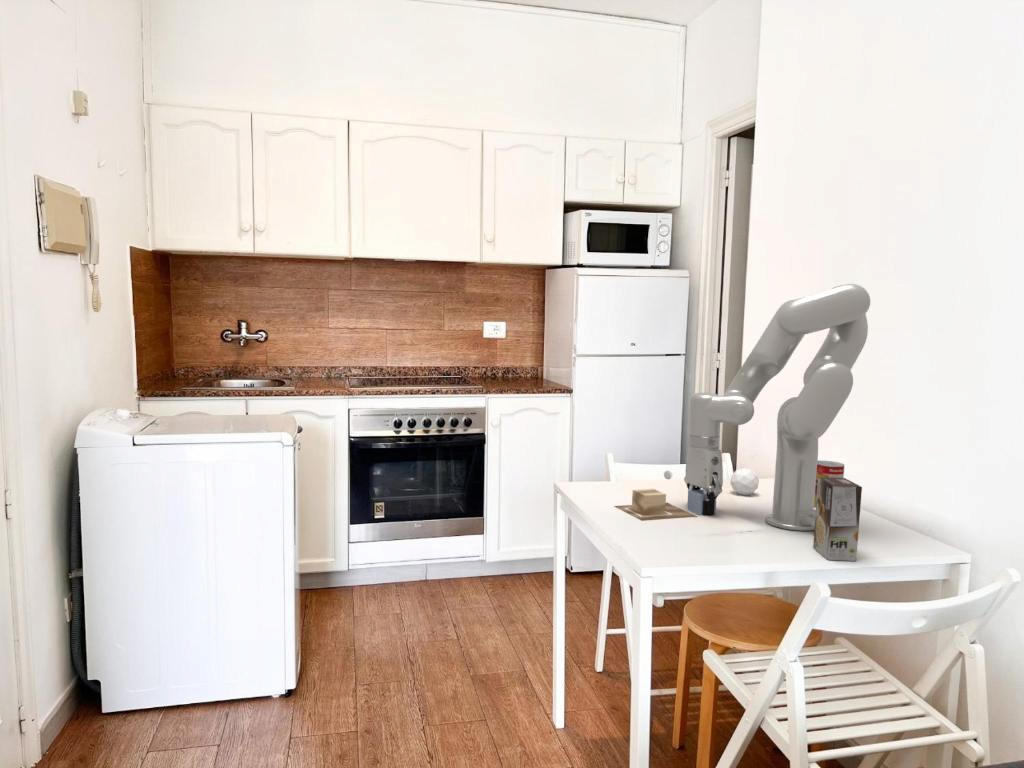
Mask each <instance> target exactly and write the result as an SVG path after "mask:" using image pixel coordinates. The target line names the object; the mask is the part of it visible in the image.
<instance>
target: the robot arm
mask: <svg viewBox="0 0 1024 768" xmlns="http://www.w3.org/2000/svg"><path fill="white" fill-rule="evenodd" d="M870 306H871V296H870V294H869V293H868V291H867V289H866V288H864V287H863V286H861V285H859V284H856V283H847V284H842V285H841V284H840V285H836V286H833V287H832V288H830V289H828V290H825V291H821V292H819V293H816V294H815V293H814V294H812V295H807V296H803V297H801V298H795V299H791V300H787V301H785V302H784V303H782V304H781V305H780V306H779V308H778V309H777V310H776V312H775V313H774V316H772V318H771V320H769V323H768V324H767V327H766V328H765V329H764V331H763V333H762V334H761V336H760V338H759V339H758V341H757V342H756V344H755V345H754V347H753V348H752V350H751V352H750V353H749V354H748V356H747V358H746V359H745V361H744V362H743V364H742V365H741V367H740V368H739V370H738V371H737V373H736V375H735V376H734V377H733V379H732V381H731V382H730V384H729V385H728V387H727V389H726V390H725V391H724V392H723V393H724V394H723V395H719V394H717V393H713V392H695V393H693V394H692V395H691V396H690V401H689V421H688V422H689V424H688V425H689V426H688V448H687V453H686V462H685V475H684V478H683V481H684V483H685V484H686V488H687V489H688V490H687V492H688V491H689V490H701V489H703V491H704V499H705V501H703V511H702V515H701V516H715V514H714V510H715V501H716V502H717V498H718V497H719V496H720V494H721V493H723V484H724V478H723V477H724V469H723V467H724V466H723V457H722V450H721V449H720V441H721V440H720V437H721V436H720V435H721V423H722V424H723V423H724V424H728V425H734V426H741V425H746V424H747V423H749V422H750V421H751V420H752V419H753V418H754V417H753V416H754V414H755V407H754V402H755V401H756V399H757V398H758V396H759V395H760V393H761V391H762V390H763V389H764V388H765V386H766V385H767V384H768V382H770V381H771V380H772V379H773V378H774V377H776V376H777V375H778V374H779V373H781V371H782V370H783V369H785V366H786V365H787V363H788V361H789V360H790V359H791V357H792V355H794V352H795V351H796V349H797V347H798V346H799V344H800V343H801V342H802V340H803V338H804V336H805V335H809V334H812V333H817V332H820V331H823V330H828V329H829V330H828V333H827V335H826V337H825V339H824V341H823V342H822V345H821V346H820V348H819V350H818V351H817V353H816V354H815V356H814V357H813V359H812V360H811V361H810V363H809V364H808V366H807V368H806V369H805V371H804V373H803V377H802V378H803V385H804V386H803V388H802V389H801V390H800V392H799V394H798V395H797V396H794V397H790V398H788V399H786V400H785V401H784V402H783V403H782V404H781V405H780V407H779V410H778V412H777V418H776V419H777V420H776V457H775V458H776V459H775V470H774V484H773V495H772V496H773V497H772V498H773V499H772V512H771V513H769V514H766V515H765V518H764V519H765V520H764V521H765V522H766V523H767V524H769V525H771V526H773V527H776V528H780V529H783V530H784V529H785V530H790V531H802V532H803V531H805V532H808V531H814V528H815V514H816V509H815V507H814V499H815V486H816V472H817V462H818V459H819V458H818V457H819V438H822V436H823V435H824V434H825V433H827V431H828V429H829V428H830V426H831V425H832V423H833V422H834V420H835V419H836V417H837V415H838V414H839V412H840V410H841V409H842V408H843V406H844V404H845V403H846V401H847V399H848V398H849V395H850V393H851V391H852V389H853V384H854V375H853V373H852V371H851V370H852V369H853V367H854V365H855V363H856V361H857V360H858V358H859V356H860V354H861V353H862V351H863V350H864V347H865V344H866V342H867V338H868V333H869V325H868V318H867V312H868V310H869V309H870ZM708 491H711V493H710V494H708Z"/></svg>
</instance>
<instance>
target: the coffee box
mask: <svg viewBox="0 0 1024 768" xmlns="http://www.w3.org/2000/svg"><path fill="white" fill-rule="evenodd" d="M862 492H863V487H862V486H861V485H859V484H857V483H856V482H853V481H852V480H850V479H847V478H845V477H844V478H832V477H827V478H824V477H818V484H817V498H816V507H815V510H816V514H815V528H814V530H813V531H814V533H813V545H812V548H813V549H814V550H815V551H817V552H818V553H819V554H820V555H821V556H823V557H824V558H825V559H826V560H829V561H846V562H856V561H857V556H858V555H857V554H858V545H859V544H858V543H859V542H858V541H859V531H860V516H861V504H862Z"/></svg>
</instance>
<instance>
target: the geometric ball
mask: <svg viewBox="0 0 1024 768" xmlns="http://www.w3.org/2000/svg"><path fill="white" fill-rule="evenodd" d="M730 477H731V478H730V486H731V488H732V489H733V491H735V493H737V494H738V493H739V494H738V495H742V496H746V495H747V496H749V495H752V494H753V493H754V492H756V490H757V489H758V488H759V482H760V480H759V478H758V475H757V474H756V473H755V472H754V470H752V469H751V468H745V467H742V468H739V469H736V470H735V471H734V472H733V473H732V474H731V475H730Z"/></svg>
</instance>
